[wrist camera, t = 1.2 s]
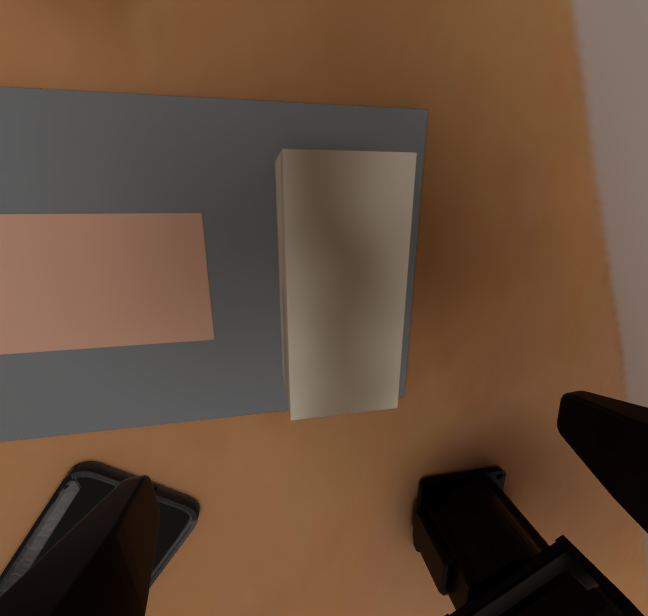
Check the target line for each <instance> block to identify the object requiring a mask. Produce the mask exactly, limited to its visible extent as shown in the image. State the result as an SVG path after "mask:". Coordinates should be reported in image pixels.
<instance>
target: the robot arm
mask: <svg viewBox="0 0 648 616" xmlns="http://www.w3.org/2000/svg"><path fill="white" fill-rule="evenodd" d="M557 428H558V431H559V432H560V434H561V436H562V437H563V438H564V439H565V440H566V442H567V443H568V444H569V445H570V446H571V448H572V449H573V450H574V451H575V452H576V454H577V455H578V456H579V457H580V458H581V460H582V461H583V462H584V463H585V464H586V466H587V467H588V468H589V469H590V471H591V472H592V473H593V474H594V475H595V477H596V478H597V479H598V480H599V481H600V483H601V484H602V485H603V486H604V487H605V488H606V490H607V491H608V492H609V493H610V494H611V495H612V497H613V498H614V499H615V500H616V501H617V502H618V503H619V504H620V505H621V506H622V507H623V508H624V509H625V510H626V511H627V512H628V513H629V515H630V516H631V517H632V518H633V519H634V520H635V521H636V522H637V523H638V524H639V525H640V526H641V527H642V528H643V529H644V530H645V531H646V532H647V533H648V408H647V407H643V406H639V405H635V404H632V403H628V402H624V401H620V400H616V399H613V398H609V397H605V396H601V395H597V394H594V393H590V392H586V391H575V392H570V393H566V394H564V395H563V396H562V398H561V401H560V407H559V413H558V419H557ZM505 476H506V473H505V472H504V471H503V470H502V468H500V467H493V468H486V469H480V470H474V471H467V472H461V473H455V474H448V475H442V476H436V477H429V478H425V479H423V480H422V481H421V482H420V486H419V496H418V505H417V508H416V511H415V518H414V528H413V538H414V542H413V544H414V547H415V549H416V551H417V552H420V553H421V555H422V557H423V559H424V561H425V563H426V566H427V568H428V570H429V572H430V574H431V576H432V578H433V580H434V582H435V585H436V587H437V589H438V591H439V592H440V593H441V594H442V595H443V596H444V595H449V597H450V599H451V601H452V603H453V605H454V607H455V609H456V611H454V612H453V613H452V614H450V615H449V614H446V615H445V616H644V615H643V614H642V613H641V612H640V611H639V610H638V609H637V608H636V607H635V605H634V604H633V603H632V602H631V601H630V600H629V599H628V598H627V597H626V596H625V595H624V594H623V593H622V592H621V591H620V590H619V589H618V588H617V587H616V586H615V585H614V584H613V583H612V582H611V581H610V580H609V579H608V578H607V577H606V576H604V575H603V574H602V573H601V572H600V571H599V570H598V569H597V568H596V567H595V566H594V565H593V564H592V563H591V562H590V561H589V560H588V559H587V558H586V557H585V556H584V555H583V554H582V553H581V552H580V551H579V550H578V549H577V548H576V547H575V546H574V545H573V544H572V543H571V542H570V541H569V540H568V539H567V538H566V537H565V536H564V535H562V536H560V537H559V538H557V539H556V540H555V541H556V542H555V543H554V544H552V545H551V546H549V545H548V544H547V542H546V541H545V540H544V539H543V538H542V537H541V535H540V534H539V533H538V532H537V531H536V530H535V528H534V527H533V526H532V525H531V524H530V522H529V521H528V520H527V519H526V518H525V517H524V515H523V514H522V513H521V512H520V511H519V510H518V508H517V507H516V506H515V505H514V504H513V503H512V501H511V500H510V499H509V498H508V497H507V496H506V494H505V493H504V492H503V486H504V481H505ZM159 521H160V510H159V505H158V502H157V498H156V495H155V492H154V488H153V485H152V481H151V479H150V478H149V476H146V475H143V476H138V477H132V478H128V479H125V480H123V481H122V482H121V483H120V484H119V485H118V486H116V487H115V488H114V489H113V490H112V491H111V492H110V493H109V494H108V495H107V496H106V497H105V498H104V499H103V500H102V501H101V502H100V503H99V504H97V505H96V506H95V507H94V508H93V509H92V510H91V511H90V512H89V513H88V514H87V515H86V516H85V517H84V518H83V519H82V520H81V521H79V522H78V523H77V524H76V525H75V526H74V527H73V528H72V529H71V530H70V531H69V532H68V533H67V534H66V535H65V536H64V537H63V538H62V539H60V540H59V541H58V542H57V543H56V544H55V545H54V546H53V547H52V548H51V549H50V550H49V551H48V552H47V553H46V554H45V555H44V556H42V557H41V558H40V559H39V560H38V561H37V562H36V563H35V564H34V565H33V566H32V567H31V568H30V569H29V570H28V571H27V572H26V573H25V574H23V575H22V576H21V577H20V578H19V579H18V580H17V581H16V582H15V583H14V584H13V585H12V586H11V587H10V588H9V589H8V590H7V591H6V592H4V593H3V594H2V595H1V596H0V616H145V612H146V606H147V600H148V594H149V587H150V581H151V574H152V568H153V561H154V554H155V548H156V541H157V535H158V528H159Z"/></svg>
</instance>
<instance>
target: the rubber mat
mask: <svg viewBox="0 0 648 616" xmlns="http://www.w3.org/2000/svg"><path fill="white" fill-rule="evenodd" d="M427 116H428V109H409V108H390V107H371V106H353V105H334V104H315V103H296V102H278V101H259V100H240V99H221V98H203V97H184V96H165V95H146V94H128V93H109V92H90V91H71V90H53V89H34V88H15V87H0V442H4V441H13V440H22V439H31V438H40V437H50V436H59V435H68V434H77V433H86V432H95V431H104V430H113V429H122V428H131V427H141V426H150V425H159V424H168V423H177V422H186V421H195V420H204V419H213V418H222V417H231V416H241V415H250V414H259V413H268V412H277V411H286V410H289V407H288V401H287V395H286V389H285V383H284V377H283V366H282V340H281V313H280V287H279V261H278V234H277V208H276V182H275V160H276V159H277V157H278V155H279V154H280V152H281V150H282V149H309V150H344V151H379V152H414V153H417V157H416V170H415V183H414V196H413V209H412V222H411V235H410V248H409V262H408V275H407V288H406V301H405V314H404V327H403V340H402V353H401V367H400V380H399V393H398V398H404V395H405V383H406V371H407V359H408V347H409V334H410V322H411V310H412V298H413V286H414V274H415V262H416V249H417V237H418V225H419V213H420V201H421V189H422V177H423V164H424V152H425V140H426V128H427Z"/></svg>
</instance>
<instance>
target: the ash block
mask: <svg viewBox="0 0 648 616" xmlns="http://www.w3.org/2000/svg"><path fill="white" fill-rule="evenodd" d="M416 157H417V153H414V152H379V151H344V150H309V149H282V150H281V152H280V154H279V155H278V157H277V159H276V160H275V182H276V208H277V234H278V261H279V287H280V313H281V340H282V366H283V377H284V383H285V389H286V395H287V401H288V407H289V413H290V418H291V420H298V419H307V418H315V417H324V416H333V415H341V414H350V413H359V412H367V411H376V410H385V409H393V408H397V406H398V393H399V380H400V367H401V353H402V340H403V327H404V314H405V301H406V288H407V275H408V262H409V248H410V235H411V222H412V209H413V196H414V183H415V170H416Z"/></svg>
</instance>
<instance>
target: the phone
mask: <svg viewBox="0 0 648 616" xmlns="http://www.w3.org/2000/svg"><path fill="white" fill-rule="evenodd" d="M132 477H137V476H135V475H132V474H129V473H127V472H124V471H121V470H119V469H116V468H113V467H111V466H108V465H105V464H103V463H99V462H95V461H86V462H82V463H79V464H77V465H75V466H74V467H73V468H72V469H71V470H70V471H69V472H68V474H67V475H66V477H65V478H64V480H63V481H62V483H61V484H60V486H59V487H58V489H57V490H56V492H55V493H54V495H53V496H52V498H51V500H50V501H49V503H48V504H47V506H46V507H45V509H44V510H43V512H42V513H41V515H40V516H39V518H38V519H37V521H36V522H35V524H34V526H33V527H32V529H31V530H30V532H29V533H28V535H27V536H26V538H25V539H24V541H23V542H22V544H21V545H20V547H19V549H18V550H17V552H16V553H15V555H14V556H13V558H12V559H11V561H10V562H9V564H8V565H7V567H6V568H5V570H4V571H3V573H2V575H1V576H0V596H1V595H2V594H3V593H4V592H6V591H7V590H8V589H9V588H10V587H11V586H12V585H13V584H14V583H15V582H16V581H17V580H18V579H19V578H20V577H21V576H22V575H23V574H25V573H26V572H27V571H28V570H29V569H30V568H31V567H32V566H33V565H34V564H35V563H36V562H37V561H38V560H39V559H40V558H41V557H42V556H44V555H45V554H46V553H47V552H48V551H49V550H50V549H51V548H52V547H53V546H54V545H55V544H56V543H57V542H58V541H59V540H60V539H62V538H63V537H64V536H65V535H66V534H67V533H68V532H69V531H70V530H71V529H72V528H73V527H74V526H75V525H76V524H77V523H78V522H79V521H81V520H82V519H83V518H84V517H85V516H86V515H87V514H88V513H89V512H90V511H91V510H92V509H93V508H94V507H95V506H96V505H97V504H99V503H100V502H101V501H102V500H103V499H104V498H105V497H106V496H107V495H108V494H109V493H110V492H111V491H112V490H113V489H114V488H115V487H116V486H118V485H119V484H120V483H121V482H122V481H123V480H125V479H128V478H132ZM152 485H153V487H156V488H157V490H154V492H155V495H156V498H157V502H158V505H159V510H160V521H159V528H158V535H157V541H156V548H155V554H154V561H153V568H152V574H151V581H150V587H151V585H152V584H153V583H154V581H155V580H156V579H157V577H158V576H159V575H160V573H161V572H162V571H163V569H164V568H165V566H166V565H167V564H168V562H169V561H170V560H171V558H172V557H173V556H174V554H175V553H176V552H177V550H178V549H179V548H180V546H181V545H182V544H183V542H184V541H185V540H186V538H187V537H188V536H189V534H190V533H191V531H192V530H193V529H194V527H195V526H196V524H197V521H198V515H199V508H200V507H199V504H198V502H197V501H196V500H195V499H194V498H193V497H191V496H188V495H186V494H183V493H180V492H178V491H175V490H172V489H170V488H167V487H164V486H162V485H159V484H156V483H154V482H152ZM179 496H181V497H179ZM150 587H149V588H150Z"/></svg>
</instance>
